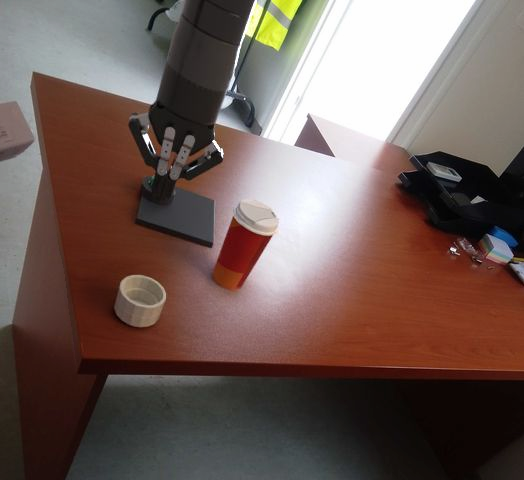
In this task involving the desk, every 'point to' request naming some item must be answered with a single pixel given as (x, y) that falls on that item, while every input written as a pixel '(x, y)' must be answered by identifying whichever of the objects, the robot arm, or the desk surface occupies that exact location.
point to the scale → (178, 214)
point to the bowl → (139, 300)
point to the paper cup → (244, 242)
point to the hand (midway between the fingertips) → (159, 196)
